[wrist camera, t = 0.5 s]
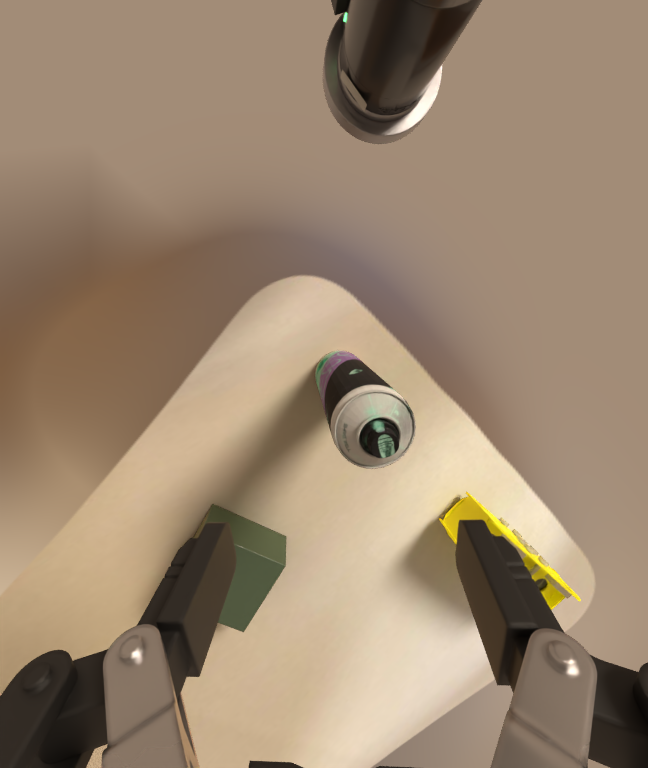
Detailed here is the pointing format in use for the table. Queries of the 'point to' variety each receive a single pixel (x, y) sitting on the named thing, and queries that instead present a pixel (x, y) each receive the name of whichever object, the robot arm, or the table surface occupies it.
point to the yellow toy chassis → (537, 566)
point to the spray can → (363, 412)
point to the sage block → (248, 566)
